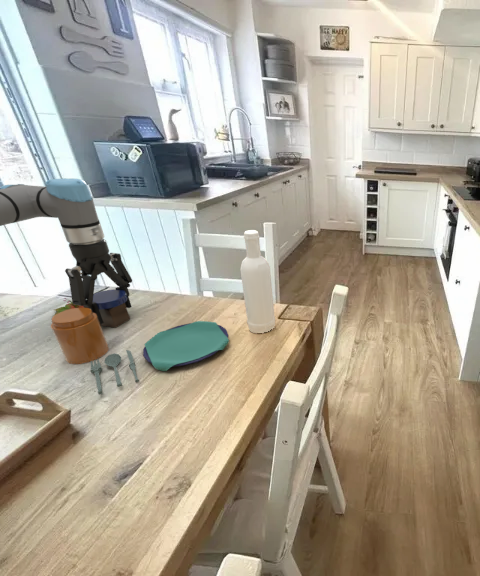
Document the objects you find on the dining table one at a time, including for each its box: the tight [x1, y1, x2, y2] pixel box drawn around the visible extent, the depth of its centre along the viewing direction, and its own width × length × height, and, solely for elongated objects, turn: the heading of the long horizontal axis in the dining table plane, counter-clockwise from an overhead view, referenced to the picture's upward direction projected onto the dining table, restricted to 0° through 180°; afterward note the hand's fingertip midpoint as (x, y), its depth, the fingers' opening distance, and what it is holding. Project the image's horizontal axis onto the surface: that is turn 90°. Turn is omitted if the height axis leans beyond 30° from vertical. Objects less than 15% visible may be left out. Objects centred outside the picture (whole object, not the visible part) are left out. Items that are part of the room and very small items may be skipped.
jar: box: [50, 308, 110, 365], centre depth 80 cm, size 8×8×12 cm
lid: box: [93, 288, 129, 310], centre depth 93 cm, size 9×9×2 cm
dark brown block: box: [99, 303, 131, 329], centre depth 95 cm, size 5×5×6 cm
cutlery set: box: [90, 320, 230, 396], centre depth 84 cm, size 20×30×2 cm, turn 132°
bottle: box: [239, 229, 276, 334], centre depth 92 cm, size 8×8×30 cm
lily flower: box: [51, 297, 84, 318], centre depth 99 cm, size 12×12×5 cm
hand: (113, 314), depth 95 cm, fingers closed on lid, 9 cm apart
